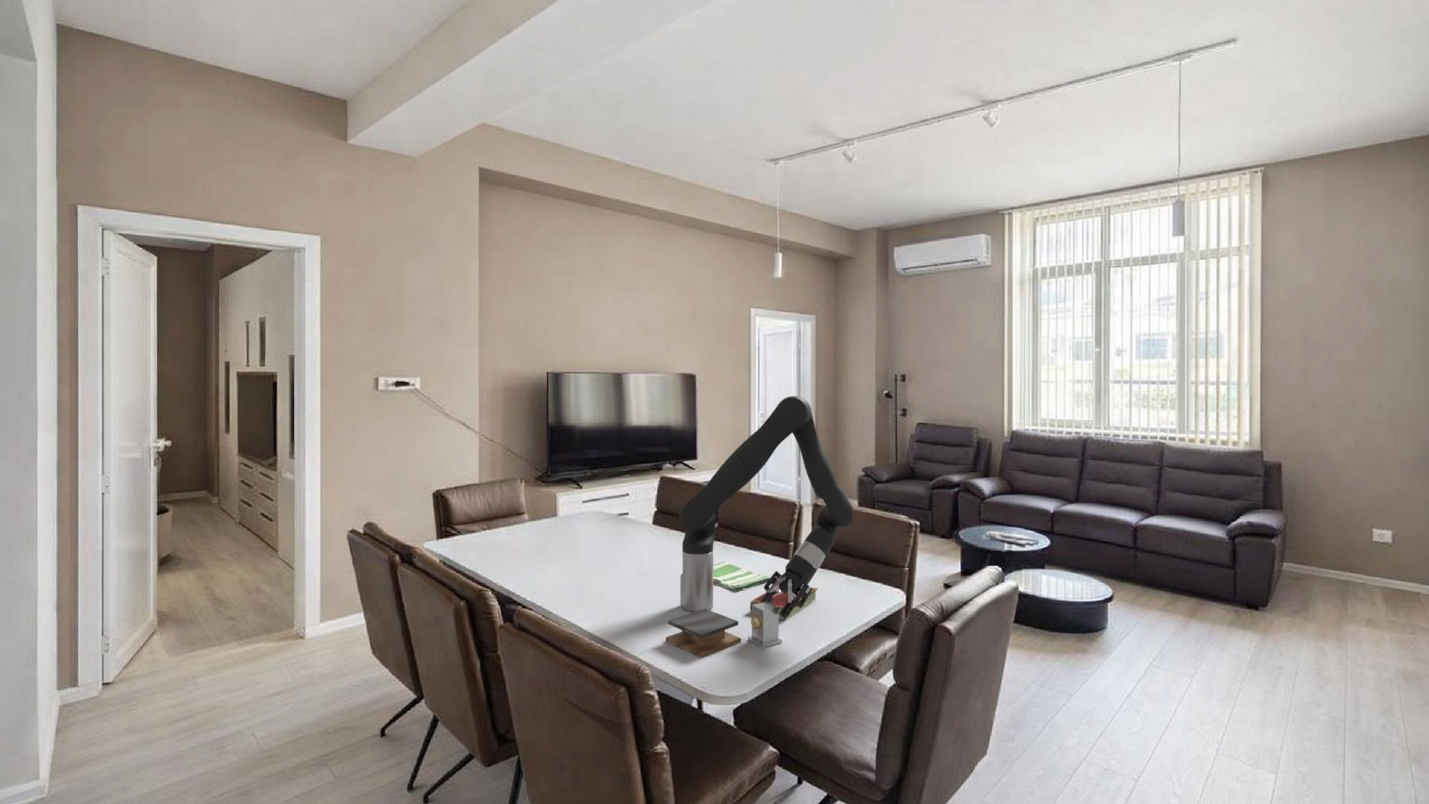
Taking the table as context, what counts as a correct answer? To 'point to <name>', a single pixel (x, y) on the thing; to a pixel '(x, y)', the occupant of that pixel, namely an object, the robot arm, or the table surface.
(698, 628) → the stand
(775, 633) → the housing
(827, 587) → the table surface
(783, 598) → the hardcover book
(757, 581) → the dish towel
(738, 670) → the table surface
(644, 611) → the table surface
